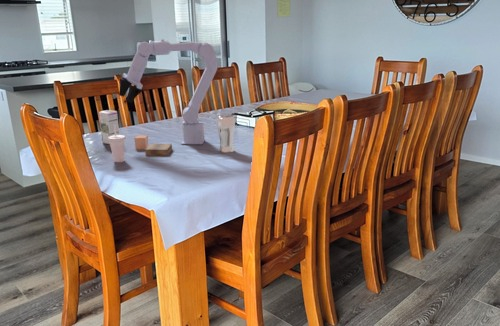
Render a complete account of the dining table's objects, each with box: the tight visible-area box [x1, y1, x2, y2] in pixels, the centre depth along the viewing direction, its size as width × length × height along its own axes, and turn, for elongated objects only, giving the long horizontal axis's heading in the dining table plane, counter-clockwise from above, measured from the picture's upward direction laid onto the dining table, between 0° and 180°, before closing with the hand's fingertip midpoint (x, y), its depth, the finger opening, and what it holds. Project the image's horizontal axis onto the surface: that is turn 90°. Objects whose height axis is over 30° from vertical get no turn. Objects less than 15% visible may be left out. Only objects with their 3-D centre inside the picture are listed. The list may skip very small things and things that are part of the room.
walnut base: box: [144, 143, 173, 156], centre depth 178 cm, size 9×9×2 cm
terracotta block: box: [134, 134, 150, 150], centre depth 185 cm, size 4×4×5 cm
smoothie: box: [108, 125, 126, 163], centre depth 165 cm, size 6×6×14 cm
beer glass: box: [217, 113, 236, 154], centre depth 178 cm, size 7×7×15 cm
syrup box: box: [98, 109, 120, 146], centre depth 191 cm, size 6×6×14 cm
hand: (125, 98), depth 183 cm, fingers open, 7 cm apart
